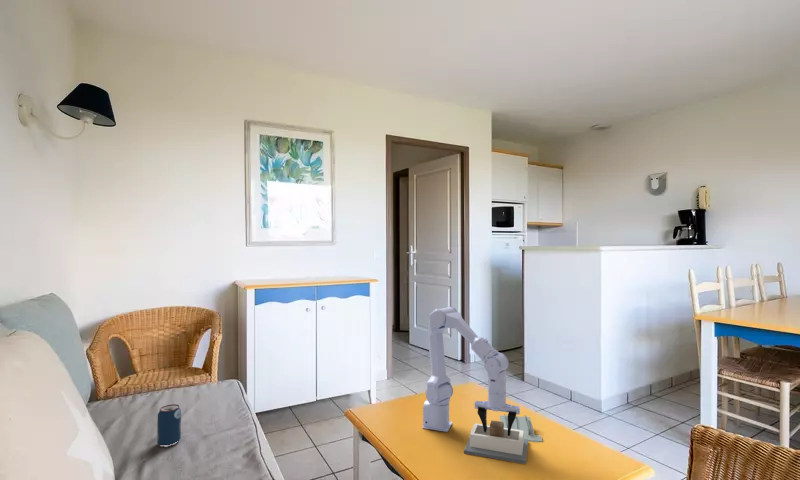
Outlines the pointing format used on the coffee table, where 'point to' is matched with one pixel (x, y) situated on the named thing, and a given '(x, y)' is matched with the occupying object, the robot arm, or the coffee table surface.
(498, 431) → the walnut block
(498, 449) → the well
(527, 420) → the metal bracket
